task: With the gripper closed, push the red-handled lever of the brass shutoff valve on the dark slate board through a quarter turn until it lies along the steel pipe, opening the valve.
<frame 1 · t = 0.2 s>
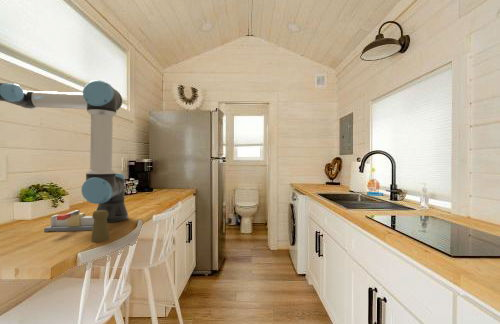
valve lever: (69, 214, 110), point 7 cm above the worktop, hinge at 0.0°
valve board: (76, 228, 116), on the worktop
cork: (100, 240, 99), on the worktop
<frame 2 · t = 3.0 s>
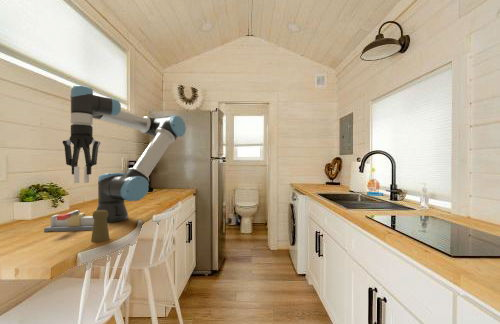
hand: (81, 182, 107), 21 cm above the worktop, tool pointing down, fingers open, 3 cm apart
nothing on the worktop moved.
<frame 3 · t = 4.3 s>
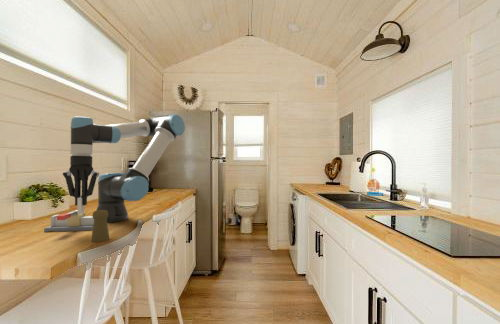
hand: (80, 213, 107), 8 cm above the worktop, tool pointing down, fingers closed
nothing on the worktop moved.
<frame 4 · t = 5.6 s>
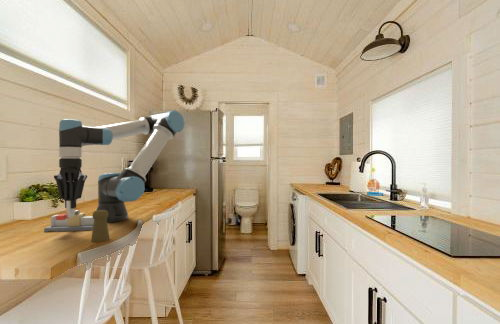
hand: (70, 216, 107), 7 cm above the worktop, tool pointing down, fingers closed
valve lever: (69, 214, 110), point 7 cm above the worktop, hinge at 1.2°, touching gripper
everything else where it was.
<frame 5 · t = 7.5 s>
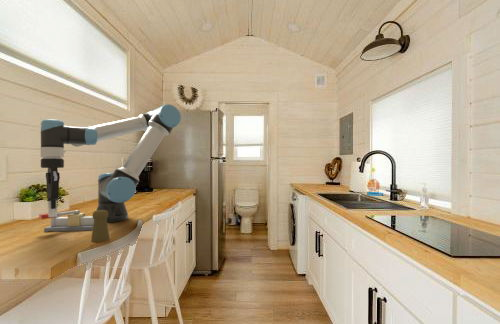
hand: (52, 216, 107), 7 cm above the worktop, tool pointing down, fingers closed
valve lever: (61, 213, 111), point 7 cm above the worktop, hinge at 43.8°, touching gripper
everything else where it was.
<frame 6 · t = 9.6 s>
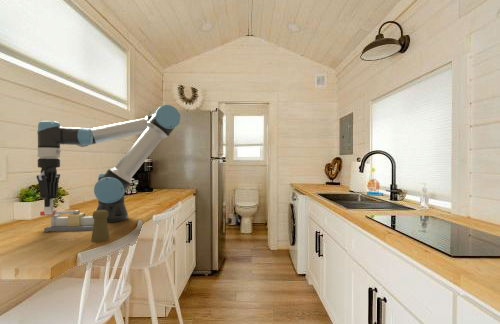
hand: (48, 214, 111), 7 cm above the worktop, tool pointing down, fingers closed
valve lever: (61, 212, 114), point 7 cm above the worktop, hinge at 84.2°, touching gripper
everything else where it was.
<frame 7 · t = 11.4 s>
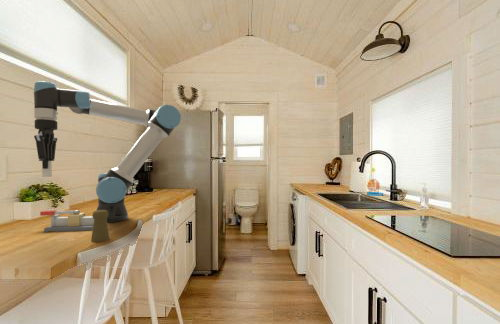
hand: (47, 176, 110), 23 cm above the worktop, tool pointing down, fingers closed
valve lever: (61, 212, 114), point 7 cm above the worktop, hinge at 84.2°
everything else where it was.
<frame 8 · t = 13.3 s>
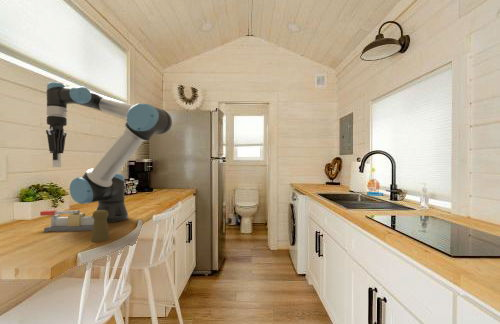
hand: (56, 167, 123), 26 cm above the worktop, tool pointing down, fingers closed
nothing on the worktop moved.
at the end: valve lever at +84° (first picture: +0°); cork moved 0.2 cm from its start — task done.
